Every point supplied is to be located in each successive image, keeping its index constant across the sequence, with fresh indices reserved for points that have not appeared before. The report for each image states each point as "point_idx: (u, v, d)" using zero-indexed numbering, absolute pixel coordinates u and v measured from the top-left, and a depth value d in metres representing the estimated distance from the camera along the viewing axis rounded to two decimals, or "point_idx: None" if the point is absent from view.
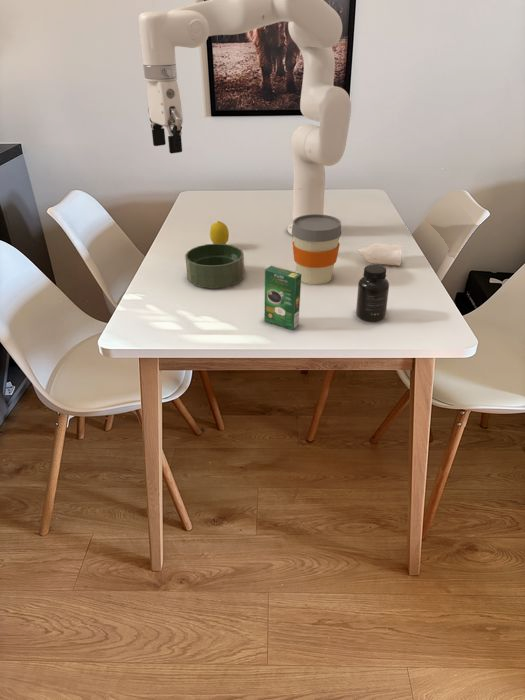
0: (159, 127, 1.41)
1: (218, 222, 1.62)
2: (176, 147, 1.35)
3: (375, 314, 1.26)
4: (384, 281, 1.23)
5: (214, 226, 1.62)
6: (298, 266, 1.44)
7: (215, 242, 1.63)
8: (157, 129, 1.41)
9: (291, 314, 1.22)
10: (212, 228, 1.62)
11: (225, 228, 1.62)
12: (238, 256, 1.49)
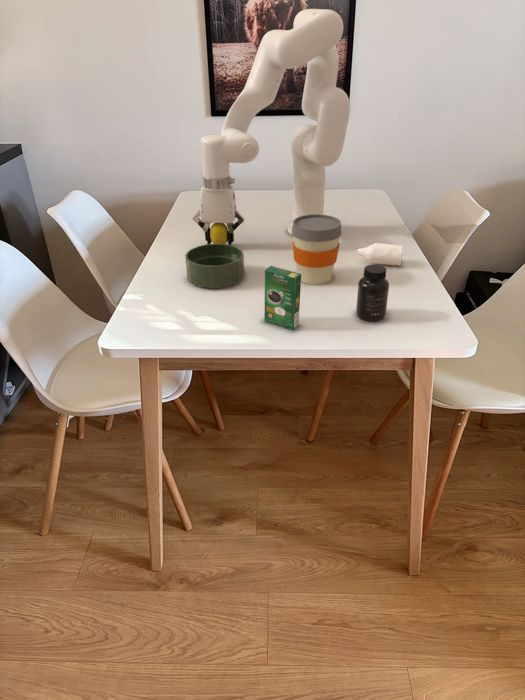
0: (209, 228, 1.64)
1: None
2: (233, 239, 1.64)
3: (375, 314, 1.26)
4: (384, 281, 1.23)
5: (214, 226, 1.62)
6: (298, 266, 1.44)
7: (215, 242, 1.63)
8: (209, 230, 1.64)
9: (291, 314, 1.22)
10: (212, 228, 1.62)
11: (225, 228, 1.62)
12: (238, 256, 1.49)
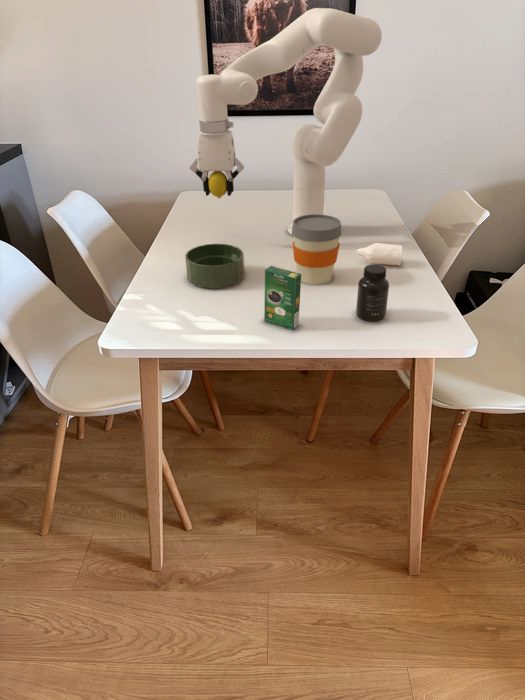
0: (207, 178, 1.56)
1: (216, 171, 1.54)
2: (232, 189, 1.57)
3: (375, 314, 1.26)
4: (384, 281, 1.23)
5: (212, 175, 1.54)
6: (298, 266, 1.44)
7: (214, 192, 1.56)
8: (207, 180, 1.56)
9: (291, 314, 1.22)
10: (210, 177, 1.54)
11: (224, 177, 1.54)
12: (238, 256, 1.49)
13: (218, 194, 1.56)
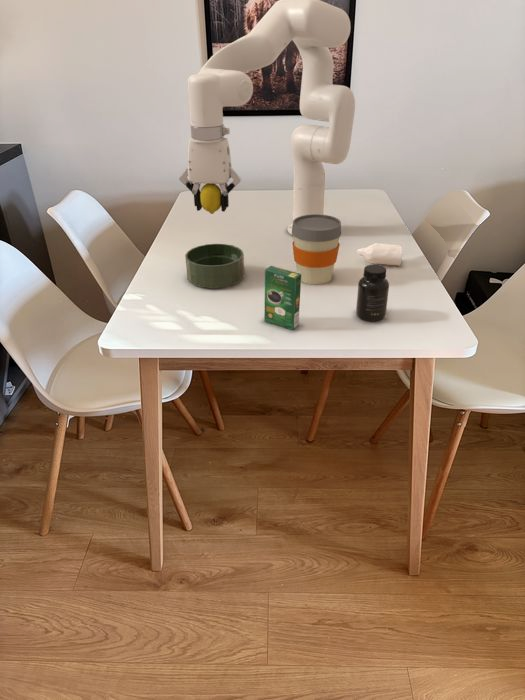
0: (199, 191, 1.38)
1: None
2: (227, 204, 1.38)
3: (375, 314, 1.26)
4: (384, 281, 1.23)
5: (205, 187, 1.35)
6: (298, 266, 1.44)
7: (206, 207, 1.37)
8: (199, 193, 1.37)
9: (291, 314, 1.22)
10: (202, 190, 1.36)
11: (218, 190, 1.36)
12: (238, 256, 1.49)
13: (211, 209, 1.37)
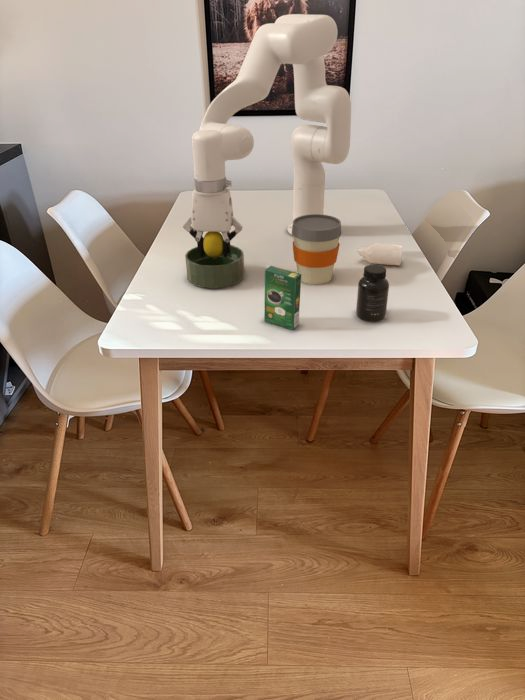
0: (202, 238, 1.43)
1: None
2: (229, 250, 1.44)
3: (375, 314, 1.26)
4: (384, 281, 1.23)
5: (208, 235, 1.41)
6: (298, 266, 1.44)
7: (209, 253, 1.43)
8: (202, 240, 1.43)
9: (291, 314, 1.22)
10: (205, 237, 1.41)
11: (220, 237, 1.41)
12: (238, 256, 1.49)
13: (213, 255, 1.43)
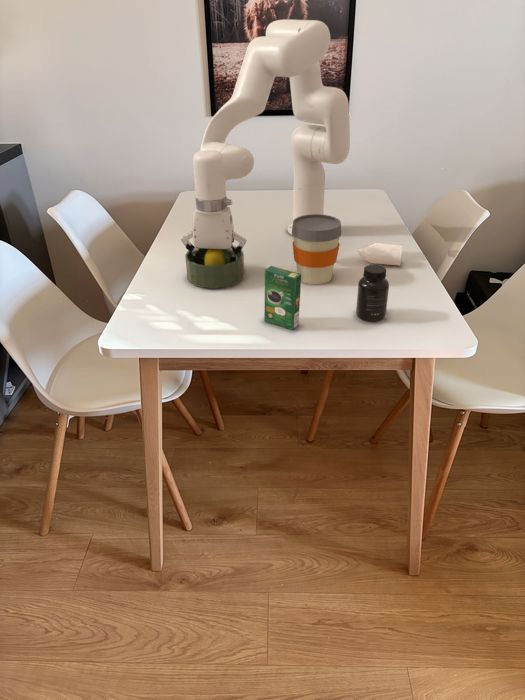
0: (198, 252, 1.46)
1: None
2: None
3: (375, 314, 1.26)
4: (384, 281, 1.23)
5: (209, 252, 1.43)
6: (298, 266, 1.44)
7: None
8: (198, 254, 1.45)
9: (291, 314, 1.22)
10: (207, 255, 1.44)
11: (221, 254, 1.44)
12: (238, 256, 1.49)
13: None
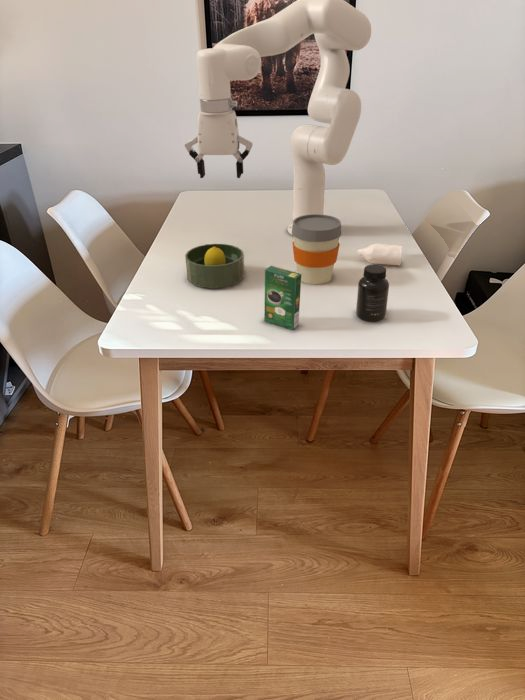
0: (202, 159, 1.44)
1: (214, 248, 1.44)
2: (242, 171, 1.44)
3: (375, 314, 1.26)
4: (384, 281, 1.23)
5: (209, 252, 1.43)
6: (298, 266, 1.44)
7: None
8: (201, 161, 1.44)
9: (291, 314, 1.22)
10: (207, 255, 1.44)
11: (221, 254, 1.44)
12: (238, 256, 1.49)
13: None
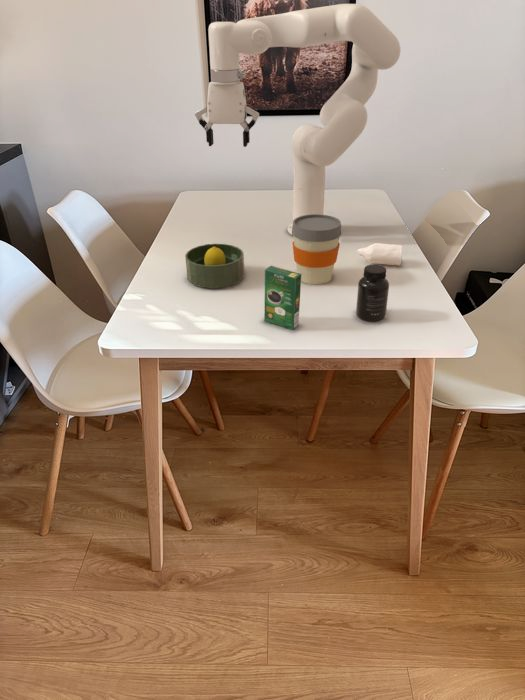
0: None
1: (214, 248, 1.44)
2: (248, 140, 1.53)
3: (375, 314, 1.26)
4: (384, 281, 1.23)
5: (209, 252, 1.43)
6: (298, 266, 1.44)
7: None
8: (210, 130, 1.53)
9: (291, 314, 1.22)
10: (207, 255, 1.44)
11: (221, 254, 1.44)
12: (238, 256, 1.49)
13: None
